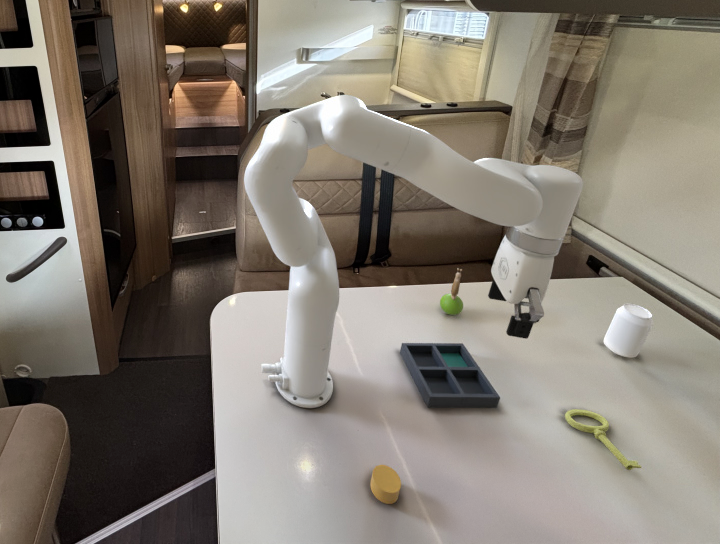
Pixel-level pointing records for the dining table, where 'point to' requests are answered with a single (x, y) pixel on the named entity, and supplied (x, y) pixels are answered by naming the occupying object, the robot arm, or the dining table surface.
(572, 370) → the dining table surface
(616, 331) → the beverage can
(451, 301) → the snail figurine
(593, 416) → the key
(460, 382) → the grid
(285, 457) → the dining table surface
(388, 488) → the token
